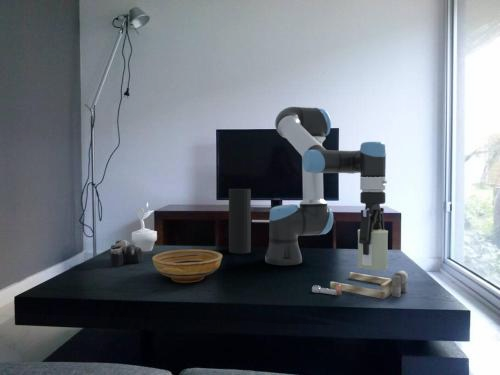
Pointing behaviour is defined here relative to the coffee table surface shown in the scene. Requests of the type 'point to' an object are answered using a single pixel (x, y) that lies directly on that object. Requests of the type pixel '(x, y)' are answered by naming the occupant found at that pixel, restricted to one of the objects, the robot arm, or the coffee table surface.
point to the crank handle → (328, 290)
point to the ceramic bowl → (187, 264)
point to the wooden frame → (387, 285)
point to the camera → (124, 254)
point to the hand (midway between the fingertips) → (372, 262)
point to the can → (376, 250)
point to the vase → (239, 221)
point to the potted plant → (144, 232)
